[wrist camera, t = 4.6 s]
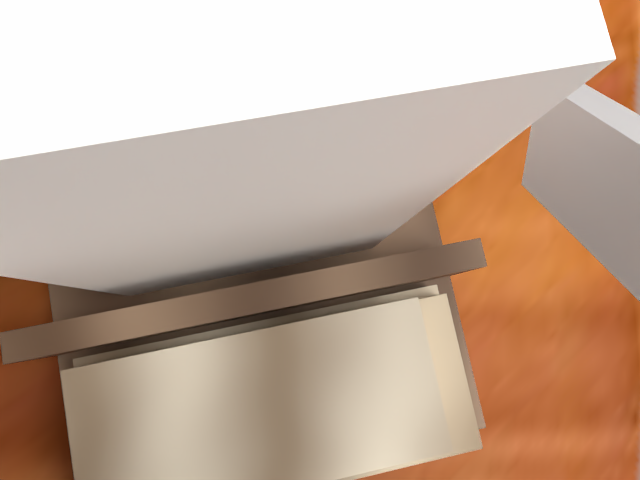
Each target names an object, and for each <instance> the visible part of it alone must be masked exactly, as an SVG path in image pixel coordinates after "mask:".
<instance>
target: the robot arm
mask: <svg viewBox="0 0 640 480" xmlns="http://www.w3.org/2000/svg"><path fill="white" fill-rule="evenodd" d="M522 185H523V186H524V187H525V188H526V189H527V190H528V191H529V192H530V193H531V194H532V195H533V196H534V197H535V198H536V199H537V200H538V201H539V202H540V203H541V204H542V205H543V206H544V207H545V208H546V209H547V210H548V211H549V212H550V213H551V214H552V215H553V216H554V217H555V218H556V219H557V220H558V221H559V222H560V223H561V224H562V225H563V226H564V227H565V228H566V229H567V230H568V231H569V232H570V233H571V234H572V235H573V236H574V237H575V238H576V239H577V240H578V241H579V242H580V243H581V244H582V245H583V246H584V247H585V248H586V249H587V250H588V251H589V252H590V253H591V254H592V255H593V256H594V257H595V258H596V259H597V260H598V261H599V262H600V263H601V264H602V265H603V266H604V267H605V268H606V269H607V270H608V271H609V272H610V273H611V274H612V275H614V276H615V277H616V278H617V279H618V280H619V281H620V282H621V283H622V284H623V285H624V286H625V287H626V288H627V289H628V290H629V291H630V292H631V293H632V294H633V295H634V296H635V297H636V298H637V299H638V300H639V301H640V115H638V114H636V113H635V112H633V111H631V110H629V109H628V108H626V107H624V106H622V105H621V104H619V103H617V102H615V101H614V100H612V99H610V98H608V97H606V96H605V95H603V94H601V93H599V92H598V91H596V90H594V89H592V88H591V87H589V86H587V85H585V84H583V85H582V86H581V87H579V88H578V89H577V90H575V91H574V92H573V93H572V94H570V95H569V96H568V97H566V98H565V99H564V100H563V101H561V102H560V103H559V104H557V105H556V106H555V107H554V108H552V109H551V110H550V111H548V112H547V113H546V114H545V115H543V116H542V117H541V118H539V119H538V120H537V121H536V122H534V123H533V124H532V126H531V132H530V138H529V143H528V149H527V155H526V161H525V167H524V173H523V179H522Z"/></svg>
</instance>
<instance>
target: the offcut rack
mask: <svg viewBox="0 0 640 480" xmlns="http://www.w3.org/2000/svg"><path fill="white" fill-rule="evenodd" d="M486 266H487V263H486V259H485V255H484V251H483V247H482V243H481V239H480V238H477V239H472V240H467V241H462V242H457V243H452V244H447V245H442V241H441V237H440V233H439V228H438V224H437V220H436V216H435V212H434V207H433V203H432V202H431V203H430V204H429V205H427V206H426V207H425V208H424V209H422V210H421V211H420V212H418V213H417V214H416V215H415V216H413V217H412V218H411V219H409V220H408V221H407V222H406V223H404V224H403V225H402V226H400V227H399V228H398V229H397V230H395V231H394V232H393V233H391V234H390V235H389V236H388V237H386V238H385V239H384V240H382V241H381V242H380V243H379V244H377V245H376V246H375V247H373V248H372V249H368V250H363V251H358V252H352V253H347V254H342V255H337V256H332V257H327V258H322V259H316V260H311V261H306V262H301V263H296V264H291V265H286V266H280V267H275V268H270V269H265V270H260V271H255V272H250V273H245V274H239V275H234V276H229V277H224V278H219V279H214V280H209V281H203V282H198V283H193V284H188V285H183V286H178V287H173V288H168V289H162V290H157V291H152V292H147V293H142V294H137V295H132V296H126V295H120V294H113V293H107V292H100V291H94V290H87V289H81V288H74V287H68V286H62V285H55V284H49V283H48V287H49V295H50V303H51V310H52V318H53V322H51V323H46V324H41V325H36V326H31V327H26V328H21V329H15V330H10V331H5V332H0V344H1V352H2V361H3V365H4V364H10V363H16V362H22V361H28V360H34V359H41V358H47V357H53V356H58V363H59V371H60V379H61V386H62V394H63V402H64V409H65V417H66V424H67V432H68V440H69V447H70V455H71V462H72V470H73V478H74V480H354V479H359V478H363V477H367V476H371V475H375V474H379V473H383V472H388V471H392V470H396V469H400V468H404V467H408V466H412V465H417V464H421V463H425V462H429V461H433V460H437V459H441V458H446V457H450V456H454V455H458V454H462V453H466V452H470V451H475V450H479V449H483V446H482V442H481V438H480V433H479V429H482V428H486V426H485V422H484V418H483V413H482V409H481V405H480V401H479V397H478V392H477V388H476V384H475V380H474V376H473V371H472V367H471V363H470V359H469V354H468V350H467V346H466V342H465V338H464V333H463V329H462V325H461V321H460V317H459V312H458V308H457V304H456V300H455V296H454V291H453V287H452V283H451V279H450V276H451V275H455V274H459V273H463V272H467V271H471V270H474V269H478V268H482V267H486Z"/></svg>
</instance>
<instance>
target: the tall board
mask: <svg viewBox="0 0 640 480" xmlns="http://www.w3.org/2000/svg"><path fill="white" fill-rule="evenodd" d="M615 59H616V57H615V54H614V50H613V47H612V44H611V40H610V37H609V34H608V30H607V27H606V23H605V20H604V17H603V13H602V10H601V7H600V3H599V0H0V276H3V277H10V278H16V279H23V280H29V281H36V282H42V283H49V284H55V285H62V286H68V287H74V288H81V289H87V290H94V291H100V292H107V293H113V294H120V295H126V296H132V295H137V294H142V293H147V292H152V291H157V290H162V289H168V288H173V287H178V286H183V285H188V284H193V283H198V282H203V281H209V280H214V279H219V278H224V277H229V276H234V275H239V274H245V273H250V272H255V271H260V270H265V269H270V268H275V267H280V266H286V265H291V264H296V263H301V262H306V261H311V260H316V259H322V258H327V257H332V256H337V255H342V254H347V253H352V252H358V251H363V250H368V249H372V248H373V247H375V246H376V245H377V244H379V243H380V242H381V241H382V240H384V239H385V238H386V237H388V236H389V235H390V234H391V233H393V232H394V231H395V230H397V229H398V228H399V227H400V226H402V225H403V224H404V223H406V222H407V221H408V220H409V219H411V218H412V217H413V216H415V215H416V214H417V213H418V212H420V211H421V210H422V209H424V208H425V207H426V206H427V205H429V204H430V203H431V202H433V201H434V200H435V199H436V198H438V197H439V196H440V195H442V194H443V193H444V192H445V191H447V190H448V189H449V188H451V187H452V186H453V185H454V184H456V183H457V182H458V181H460V180H461V179H462V178H463V177H465V176H466V175H467V174H469V173H470V172H471V171H472V170H474V169H475V168H476V167H478V166H479V165H480V164H481V163H483V162H484V161H485V160H487V159H488V158H489V157H490V156H492V155H493V154H494V153H496V152H497V151H498V150H499V149H501V148H502V147H503V146H505V145H506V144H507V143H508V142H510V141H511V140H512V139H514V138H515V137H516V136H518V135H519V134H520V133H521V132H523V131H524V130H525V129H527V128H528V127H529V126H530V125H532V124H533V123H534V122H536V121H537V120H538V119H539V118H541V117H542V116H543V115H545V114H546V113H547V112H548V111H550V110H551V109H552V108H554V107H555V106H556V105H557V104H559V103H560V102H561V101H563V100H564V99H565V98H566V97H568V96H569V95H570V94H572V93H573V92H574V91H575V90H577V89H578V88H579V87H581V86H582V85H583V84H584V83H586V82H587V81H588V80H590V79H591V78H592V77H593V76H595V75H596V74H597V73H599V72H600V71H601V70H602V69H604V68H605V67H606V66H608V65H609V64H610V63H611V62H613V61H614V60H615Z"/></svg>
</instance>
